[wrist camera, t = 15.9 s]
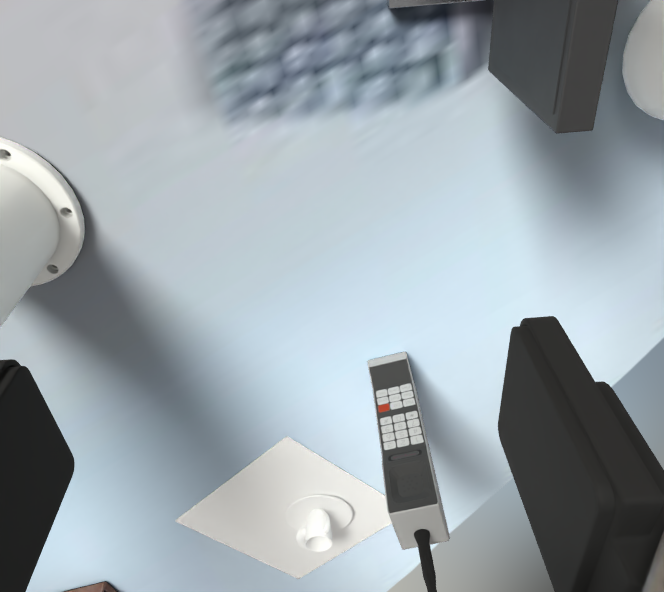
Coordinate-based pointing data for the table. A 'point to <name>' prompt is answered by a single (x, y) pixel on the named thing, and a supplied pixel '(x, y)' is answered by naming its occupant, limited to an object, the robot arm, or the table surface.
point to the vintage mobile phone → (407, 461)
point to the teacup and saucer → (290, 510)
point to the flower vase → (646, 60)
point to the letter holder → (95, 588)
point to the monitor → (549, 54)
